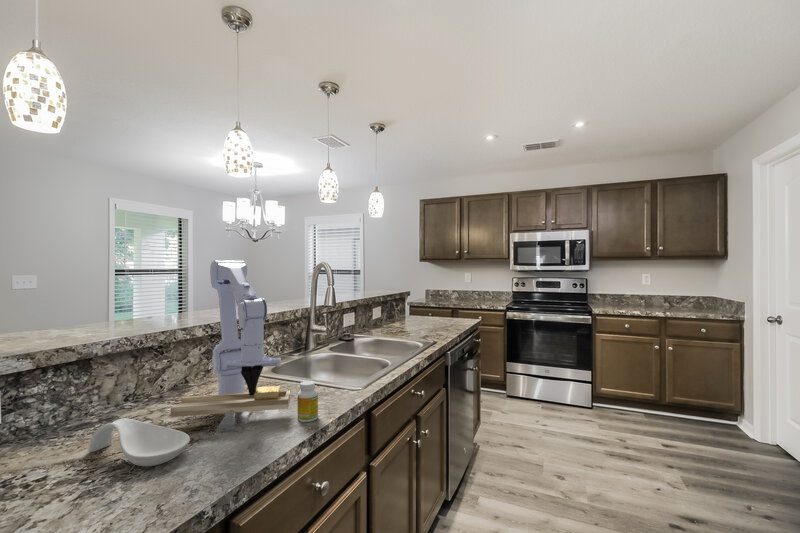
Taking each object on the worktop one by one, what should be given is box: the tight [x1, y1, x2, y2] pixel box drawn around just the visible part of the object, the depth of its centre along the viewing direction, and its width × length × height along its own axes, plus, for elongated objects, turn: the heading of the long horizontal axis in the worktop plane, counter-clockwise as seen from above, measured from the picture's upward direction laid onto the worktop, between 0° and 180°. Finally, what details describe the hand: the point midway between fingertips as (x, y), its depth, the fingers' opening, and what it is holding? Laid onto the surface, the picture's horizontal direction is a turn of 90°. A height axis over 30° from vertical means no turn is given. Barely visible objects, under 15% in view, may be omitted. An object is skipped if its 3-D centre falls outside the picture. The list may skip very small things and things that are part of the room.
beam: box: [170, 389, 292, 418], centre depth 97 cm, size 8×28×3 cm, turn 102°
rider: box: [254, 385, 281, 401], centre depth 99 cm, size 5×6×3 cm
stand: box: [215, 411, 252, 434], centre depth 97 cm, size 12×6×5 cm, turn 12°
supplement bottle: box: [297, 380, 319, 423], centre depth 99 cm, size 5×5×10 cm
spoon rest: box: [87, 417, 191, 467], centre depth 79 cm, size 24×12×7 cm, turn 74°
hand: (252, 394), depth 98 cm, fingers closed
